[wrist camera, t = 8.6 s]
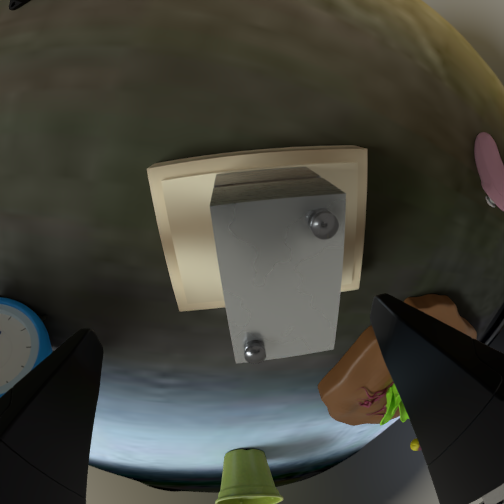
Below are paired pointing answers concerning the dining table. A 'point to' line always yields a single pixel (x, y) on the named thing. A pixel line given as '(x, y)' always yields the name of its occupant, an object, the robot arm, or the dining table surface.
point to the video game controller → (490, 169)
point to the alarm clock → (20, 342)
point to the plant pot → (247, 479)
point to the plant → (378, 372)
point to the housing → (279, 260)
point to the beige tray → (200, 223)
